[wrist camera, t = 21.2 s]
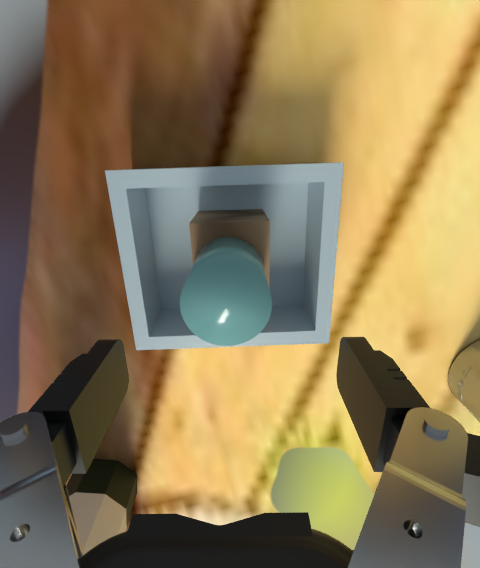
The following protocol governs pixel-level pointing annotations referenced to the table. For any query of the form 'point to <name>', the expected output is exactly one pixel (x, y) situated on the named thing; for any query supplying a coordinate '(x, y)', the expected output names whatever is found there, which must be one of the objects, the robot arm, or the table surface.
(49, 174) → the table surface
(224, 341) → the teal glossy cylinder
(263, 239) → the walnut block
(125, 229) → the blue-grey tote
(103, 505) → the wine bottle
